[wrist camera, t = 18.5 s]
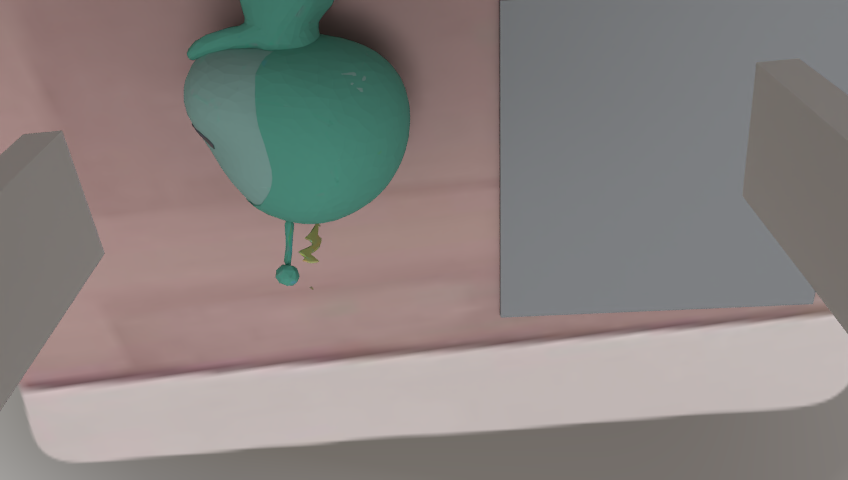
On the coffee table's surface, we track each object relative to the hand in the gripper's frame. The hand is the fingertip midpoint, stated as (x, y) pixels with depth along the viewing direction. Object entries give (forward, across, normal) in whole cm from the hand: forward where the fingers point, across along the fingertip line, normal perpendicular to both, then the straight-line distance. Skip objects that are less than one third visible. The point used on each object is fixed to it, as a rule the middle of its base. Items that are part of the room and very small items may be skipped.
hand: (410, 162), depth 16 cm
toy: (+22, -4, +1) cm, 22 cm away
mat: (+25, +12, -13) cm, 30 cm away
